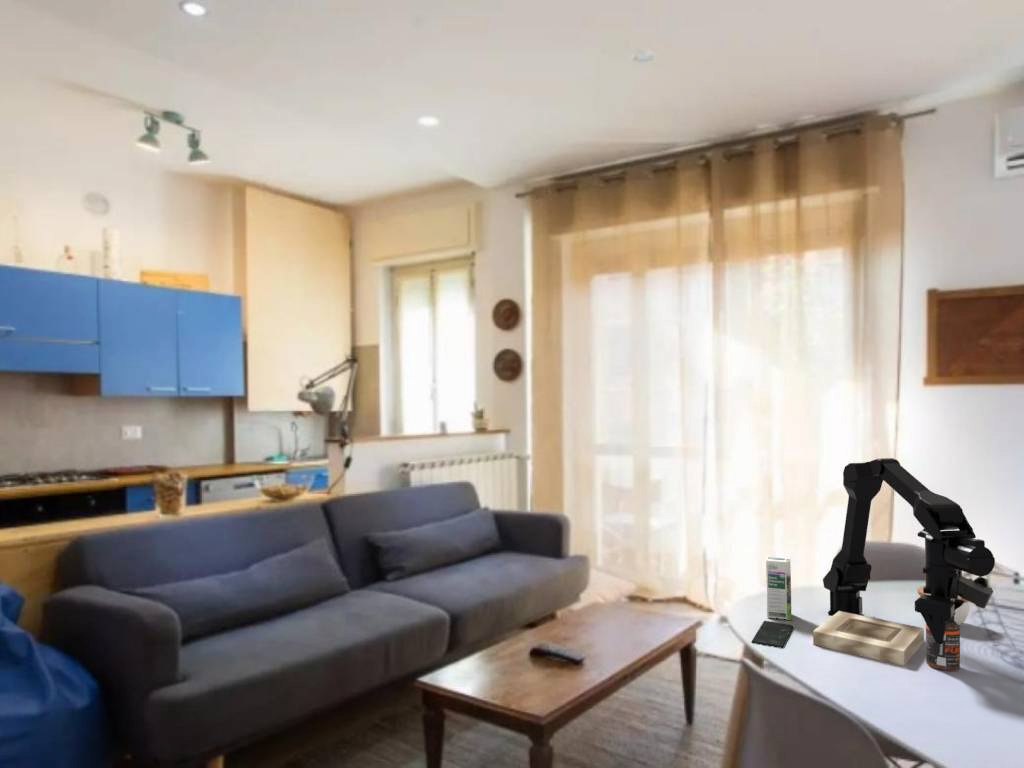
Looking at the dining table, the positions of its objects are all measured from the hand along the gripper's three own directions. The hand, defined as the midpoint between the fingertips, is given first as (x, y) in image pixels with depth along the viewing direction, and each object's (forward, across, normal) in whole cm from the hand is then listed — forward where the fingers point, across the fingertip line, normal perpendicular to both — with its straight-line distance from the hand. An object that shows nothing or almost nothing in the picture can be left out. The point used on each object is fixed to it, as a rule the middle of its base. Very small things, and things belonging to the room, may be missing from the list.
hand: (942, 639), depth 139 cm
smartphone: (+6, -5, +33) cm, 34 cm away
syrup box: (+6, +9, +37) cm, 38 cm away
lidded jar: (+6, +29, +5) cm, 30 cm away
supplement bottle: (+6, 0, 0) cm, 6 cm away
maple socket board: (+6, +4, +15) cm, 16 cm away
